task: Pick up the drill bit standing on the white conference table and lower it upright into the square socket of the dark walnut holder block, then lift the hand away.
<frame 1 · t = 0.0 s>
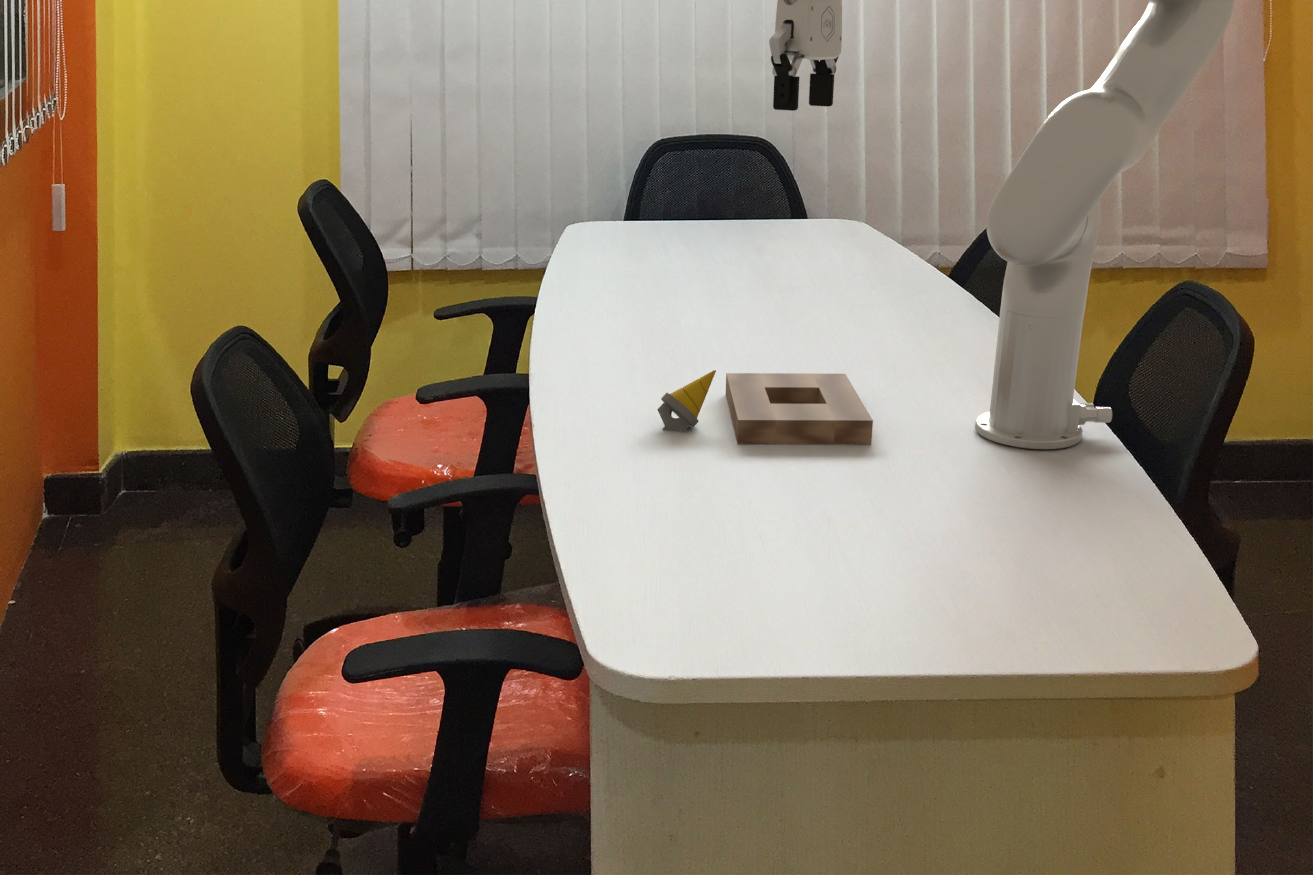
hand: (803, 108, 152), 37 cm above the table, fingers open, 9 cm apart
holder block: (794, 417, 153), on the table
drill bit: (684, 427, 150), on the table
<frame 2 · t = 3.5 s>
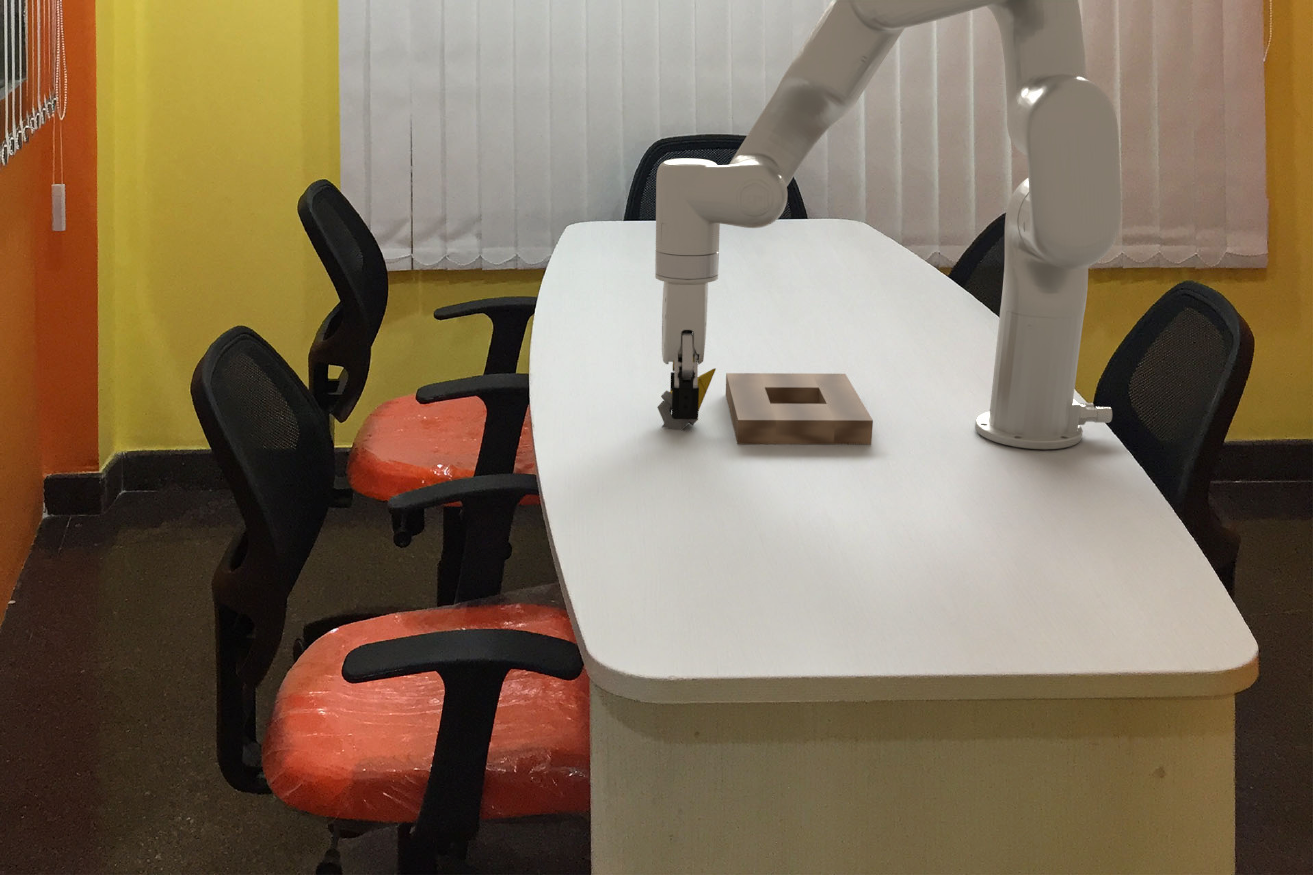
hand: (683, 409, 149), 2 cm above the table, fingers closed on drill bit, 5 cm apart
drill bit: (684, 424, 150), on the table, touching gripper
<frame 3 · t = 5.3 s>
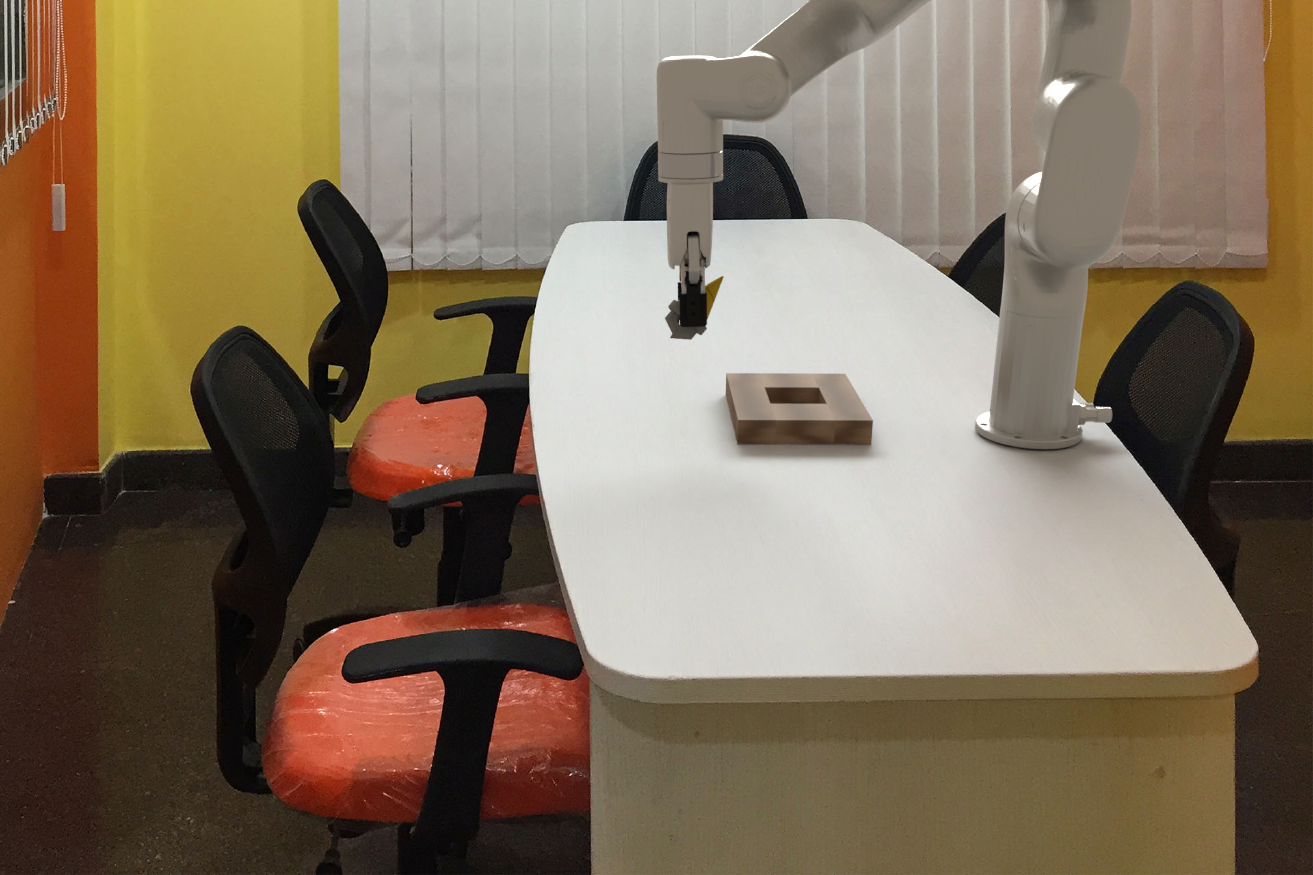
hand: (692, 318, 145), 14 cm above the table, fingers closed on drill bit, 5 cm apart
drill bit: (693, 335, 147), point 11 cm above the table, touching gripper
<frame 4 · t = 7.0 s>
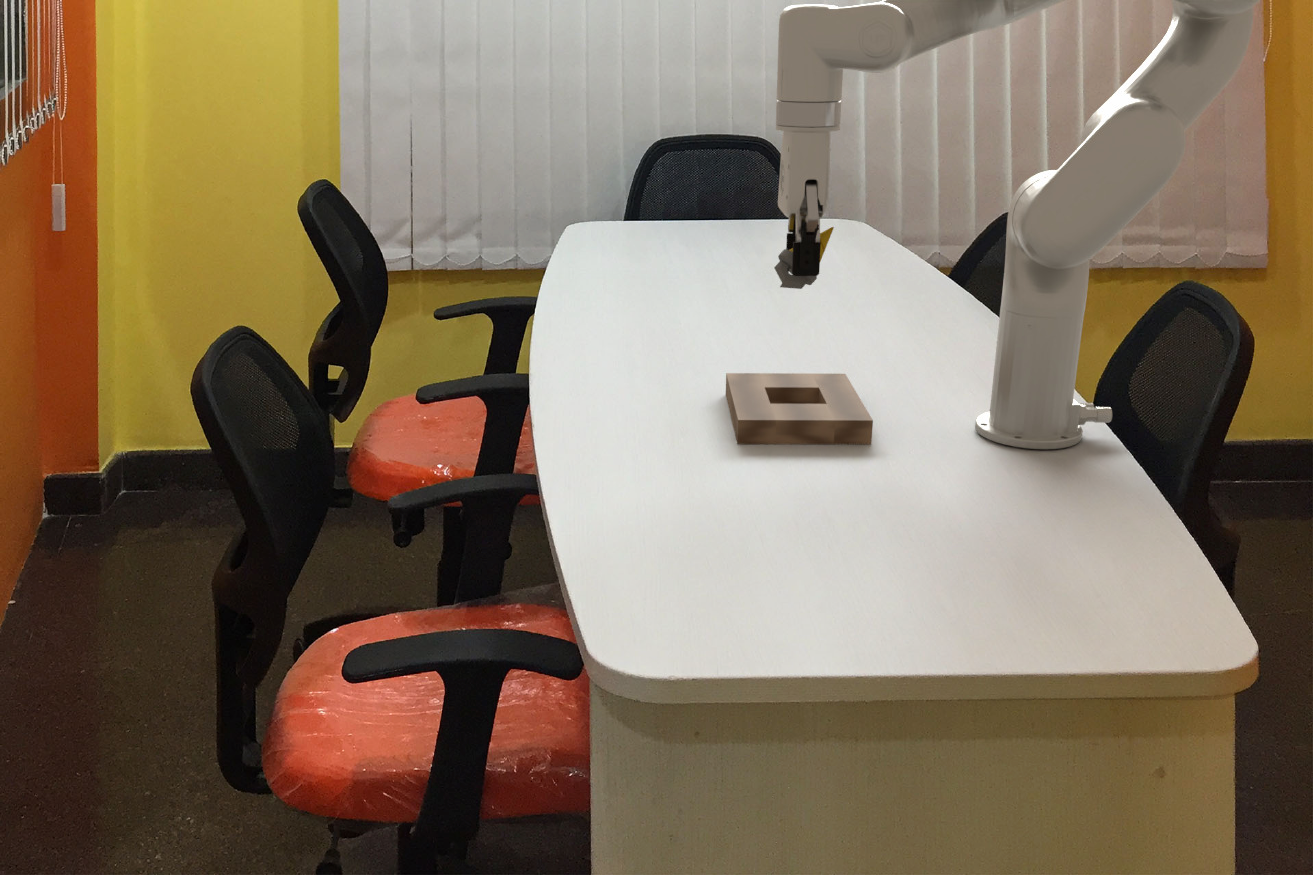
hand: (802, 269, 146), 19 cm above the table, fingers closed on drill bit, 5 cm apart
drill bit: (801, 285, 148), point 17 cm above the table, touching gripper
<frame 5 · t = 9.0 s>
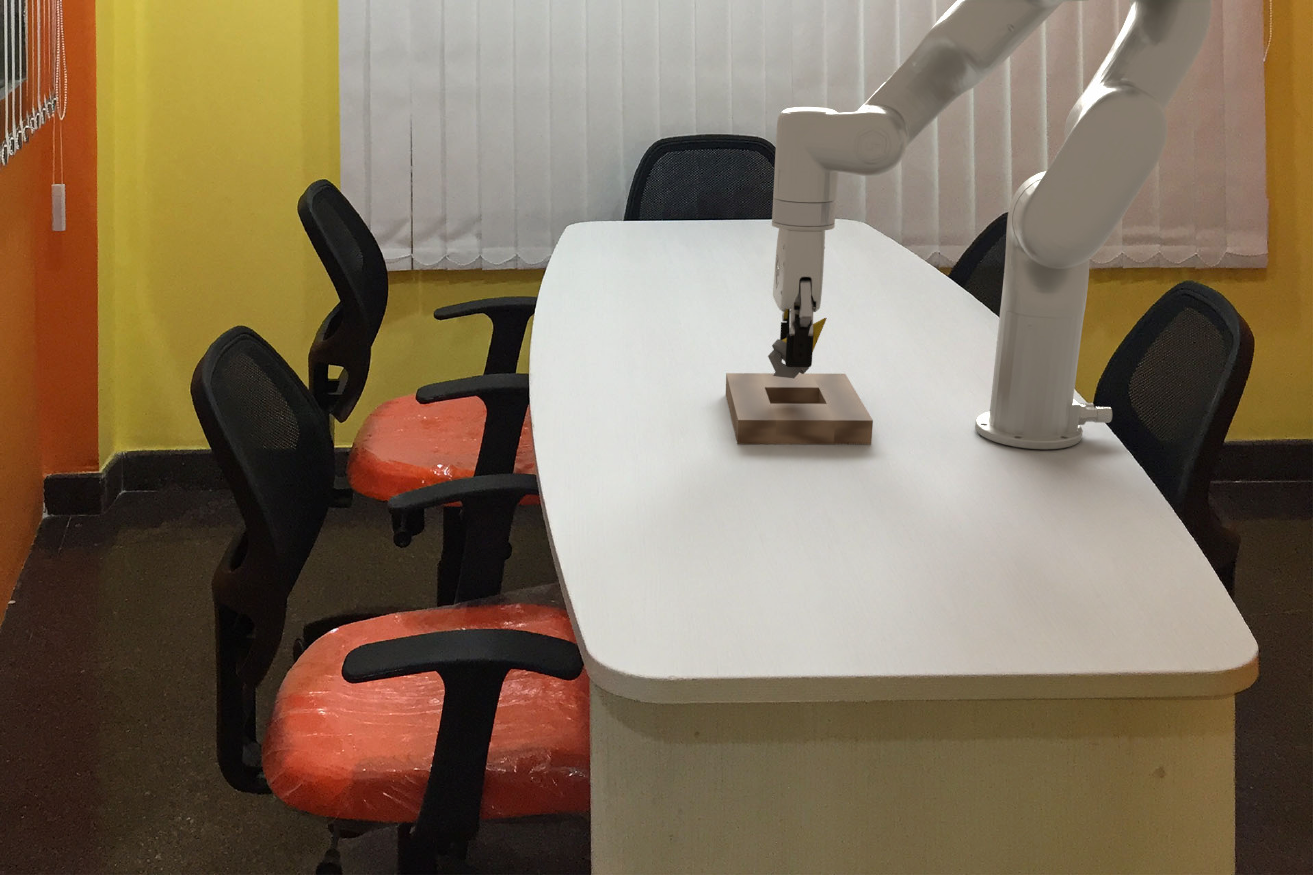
hand: (795, 358, 150), 8 cm above the table, fingers closed on drill bit, 5 cm apart
drill bit: (794, 373, 152), point 6 cm above the table, touching gripper
when the fingers open (4 cm above the table, at t = 10.3 s): drill bit drops 2 cm, resting in holder block.
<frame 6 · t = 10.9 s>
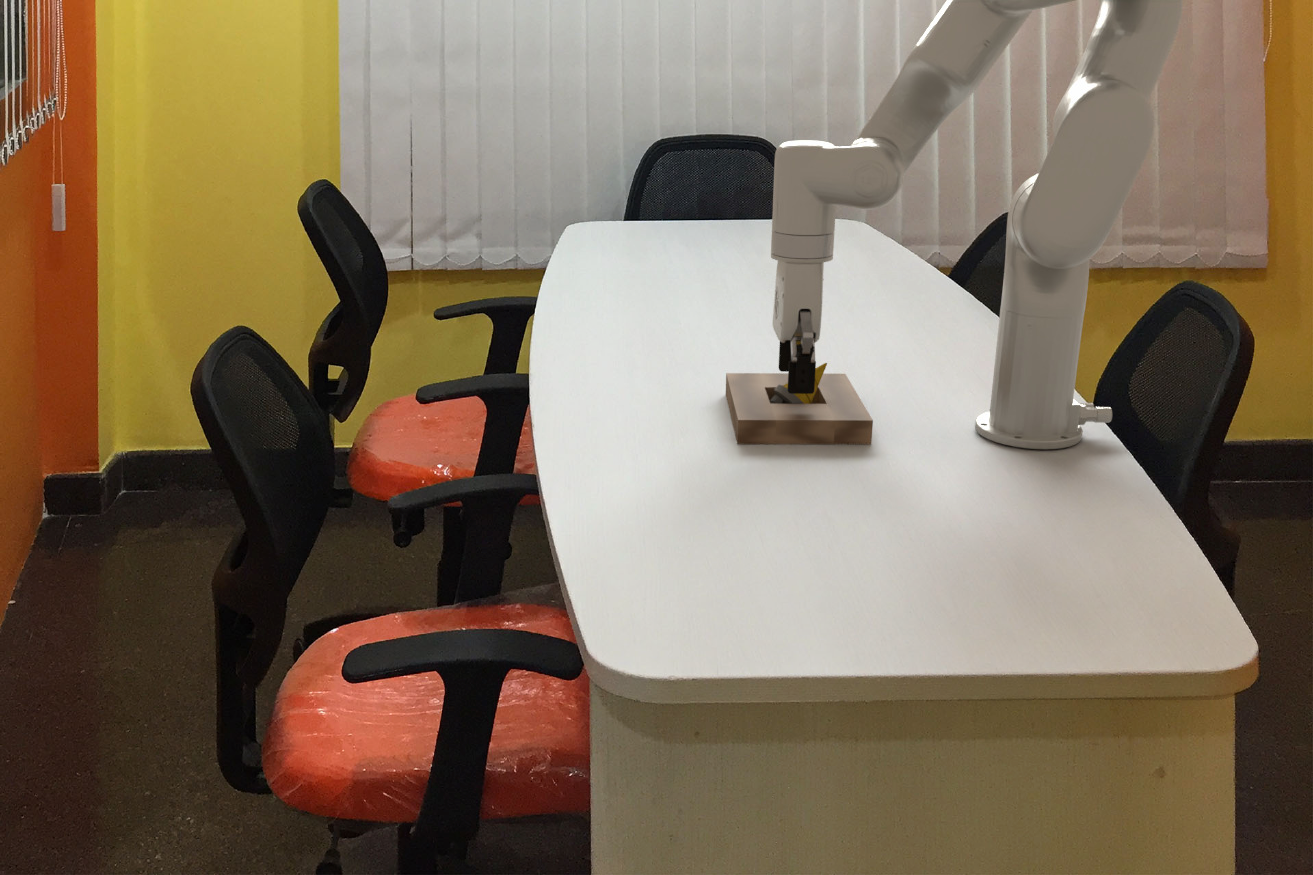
hand: (795, 381, 151), 5 cm above the table, fingers open, 9 cm apart
drill bit: (795, 418, 153), resting in holder block
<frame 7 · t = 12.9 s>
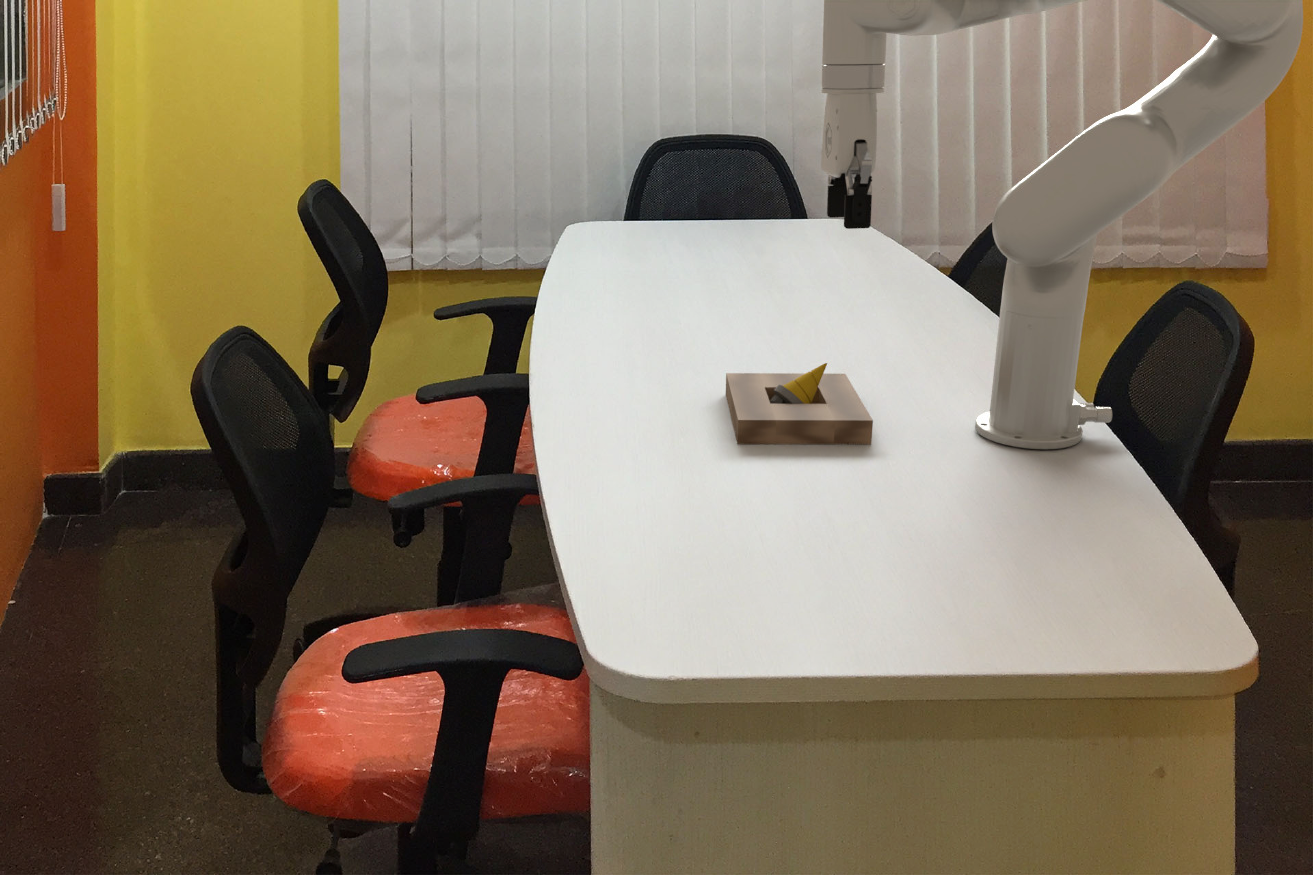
hand: (848, 222, 151), 24 cm above the table, fingers open, 9 cm apart
nothing on the table moved.
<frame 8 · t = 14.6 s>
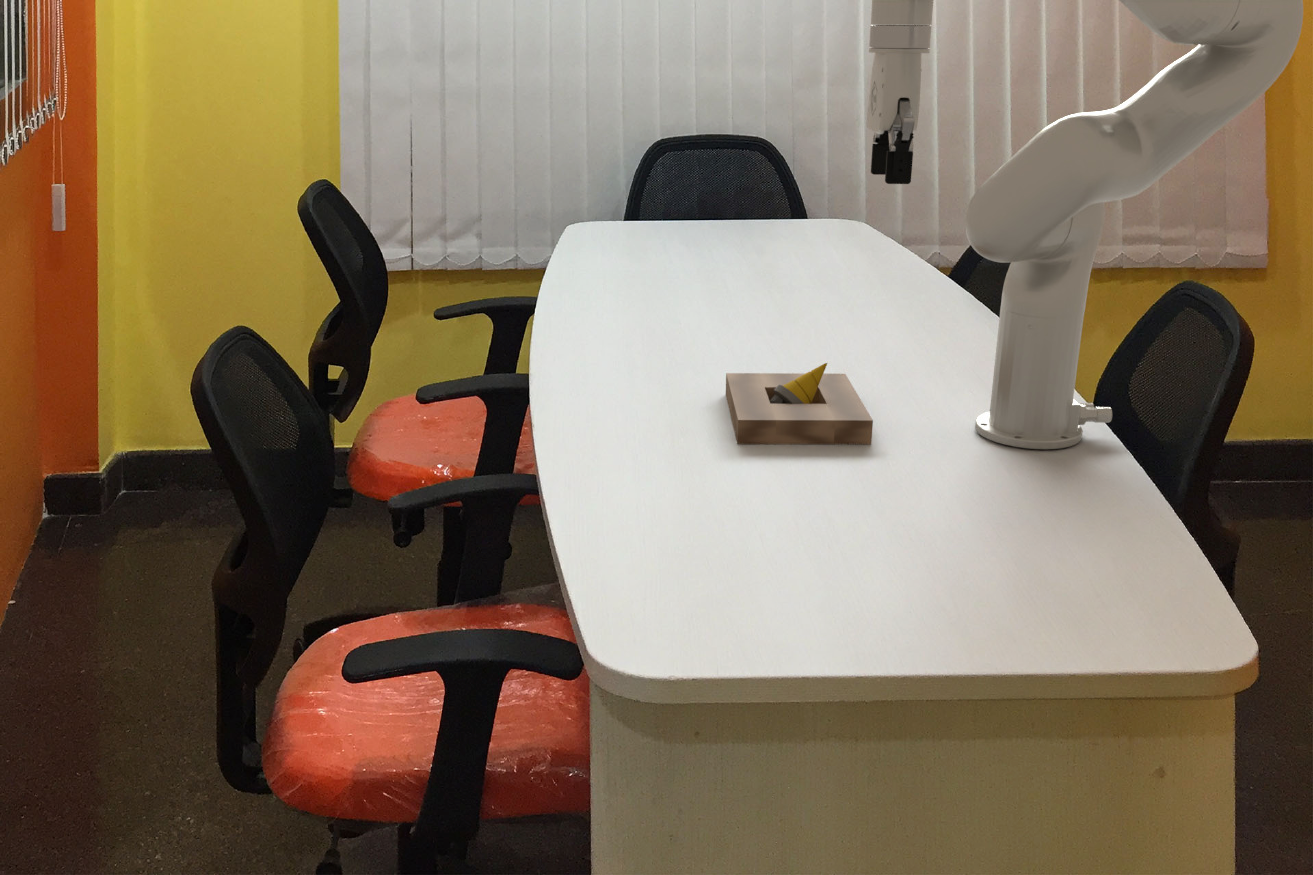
hand: (890, 178, 157), 28 cm above the table, fingers open, 9 cm apart
nothing on the table moved.
at the end: drill bit 0.7 cm off-centre on the holder block, point 0.0 cm above the holder block's base; drill bit tilted 1°; the gripper is holding nothing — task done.
